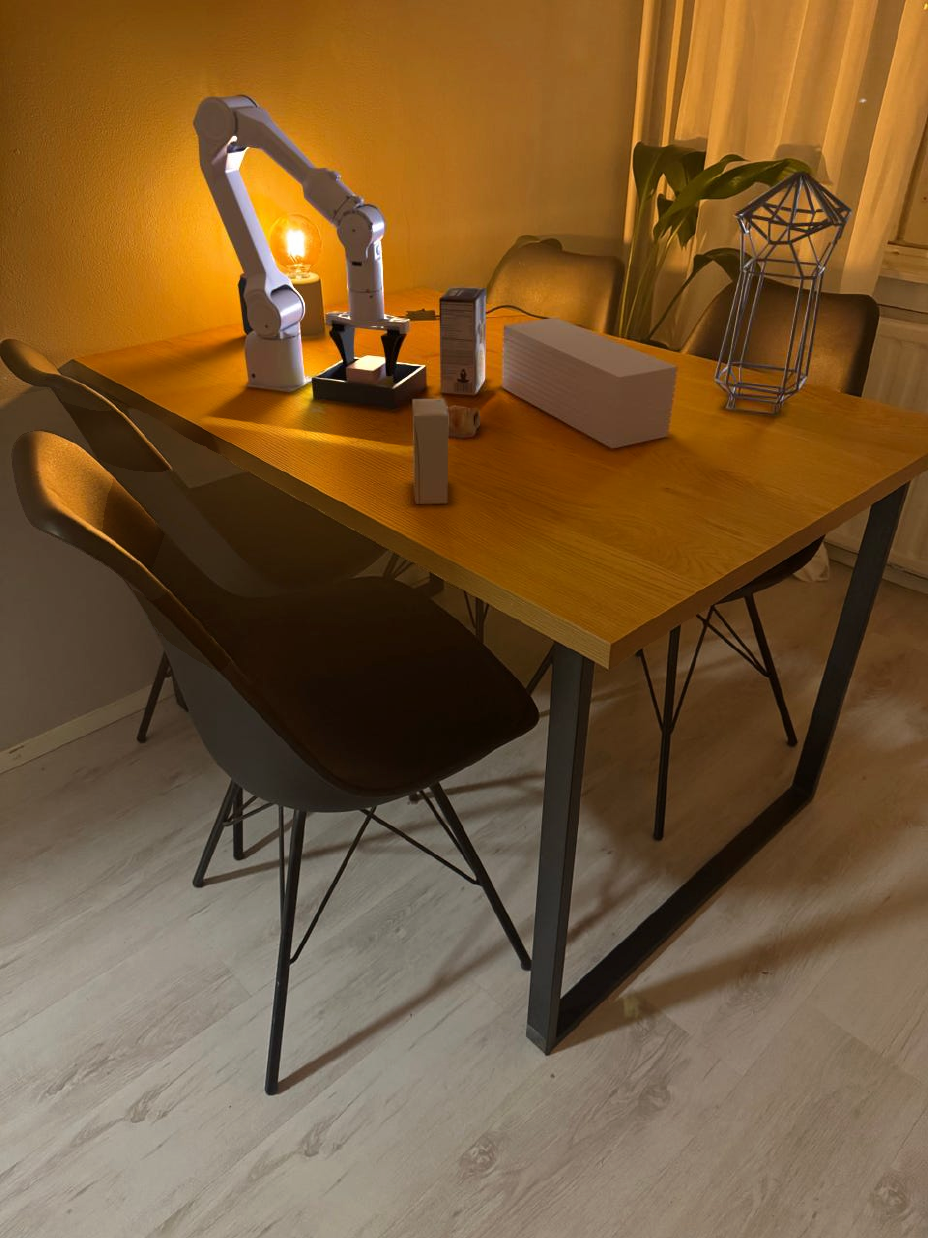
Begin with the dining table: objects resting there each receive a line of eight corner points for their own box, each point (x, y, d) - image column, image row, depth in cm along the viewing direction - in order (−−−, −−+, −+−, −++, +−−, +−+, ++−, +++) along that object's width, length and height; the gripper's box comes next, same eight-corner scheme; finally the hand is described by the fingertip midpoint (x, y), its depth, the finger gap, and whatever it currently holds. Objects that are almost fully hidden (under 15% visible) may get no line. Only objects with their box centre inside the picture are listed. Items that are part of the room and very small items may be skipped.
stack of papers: (501, 387, 153) (503, 324, 147) (552, 378, 157) (556, 317, 151) (612, 449, 129) (619, 377, 123) (668, 436, 134) (677, 366, 128)
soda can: (251, 330, 184) (243, 270, 178) (282, 331, 183) (276, 271, 177) (239, 339, 178) (231, 277, 172) (272, 340, 177) (265, 278, 171)
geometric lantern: (719, 385, 154) (756, 163, 135) (812, 399, 148) (864, 168, 129) (698, 413, 142) (735, 173, 123) (798, 428, 136) (853, 180, 117)
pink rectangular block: (347, 396, 147) (345, 367, 145) (367, 383, 153) (366, 355, 151) (374, 400, 146) (372, 370, 143) (393, 386, 152) (392, 358, 149)
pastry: (414, 434, 134) (413, 410, 132) (425, 420, 139) (424, 396, 137) (474, 439, 132) (474, 415, 130) (482, 424, 138) (483, 401, 136)
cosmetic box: (413, 485, 118) (410, 397, 111) (446, 484, 118) (445, 397, 112) (415, 505, 113) (412, 415, 106) (449, 504, 113) (449, 414, 107)
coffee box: (450, 378, 157) (450, 285, 148) (485, 380, 156) (487, 287, 147) (439, 394, 150) (438, 297, 141) (476, 397, 149) (477, 299, 140)
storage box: (313, 400, 147) (311, 377, 145) (349, 377, 157) (348, 356, 155) (395, 411, 142) (394, 388, 140) (426, 387, 153) (426, 365, 151)
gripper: (416, 286, 141) (418, 370, 149) (337, 279, 146) (343, 361, 153) (398, 296, 136) (401, 382, 143) (316, 288, 140) (323, 372, 148)
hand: (370, 372), depth 148 cm, fingers open, 7 cm apart
